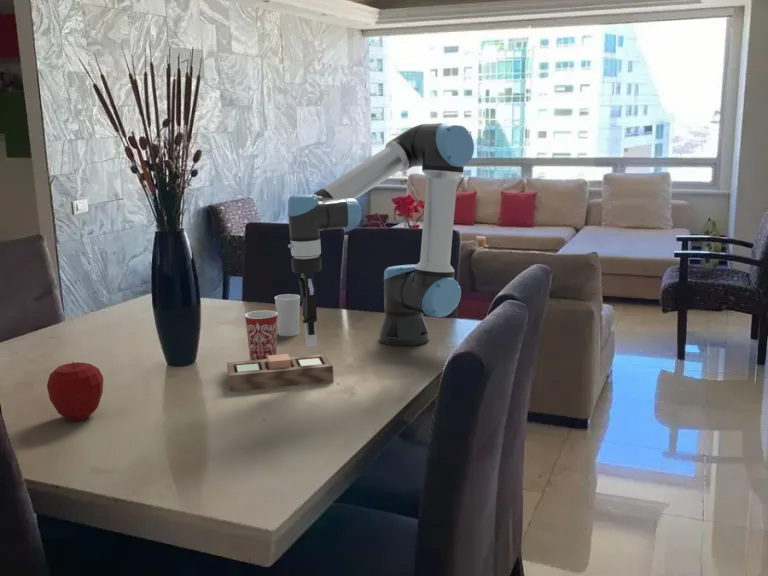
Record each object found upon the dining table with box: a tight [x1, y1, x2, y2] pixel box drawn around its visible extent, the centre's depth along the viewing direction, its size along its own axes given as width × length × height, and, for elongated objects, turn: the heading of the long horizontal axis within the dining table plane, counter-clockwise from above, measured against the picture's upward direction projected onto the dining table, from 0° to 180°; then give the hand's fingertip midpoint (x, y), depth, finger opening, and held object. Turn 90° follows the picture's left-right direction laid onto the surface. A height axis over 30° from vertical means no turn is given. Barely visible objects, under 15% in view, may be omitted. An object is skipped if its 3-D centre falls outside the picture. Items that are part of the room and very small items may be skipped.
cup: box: [274, 293, 301, 337], centre depth 236 cm, size 8×8×12 cm
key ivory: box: [298, 358, 322, 367], centre depth 194 cm, size 5×5×4 cm
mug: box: [244, 310, 278, 361], centre depth 210 cm, size 13×9×14 cm
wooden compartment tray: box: [226, 353, 334, 393], centre depth 192 cm, size 26×11×4 cm, turn 104°
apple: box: [46, 361, 104, 422], centre depth 168 cm, size 12×12×13 cm
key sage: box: [237, 364, 259, 372], centre depth 190 cm, size 5×5×4 cm
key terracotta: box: [267, 353, 291, 369], centre depth 192 cm, size 5×5×4 cm
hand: (311, 345), depth 193 cm, fingers closed
